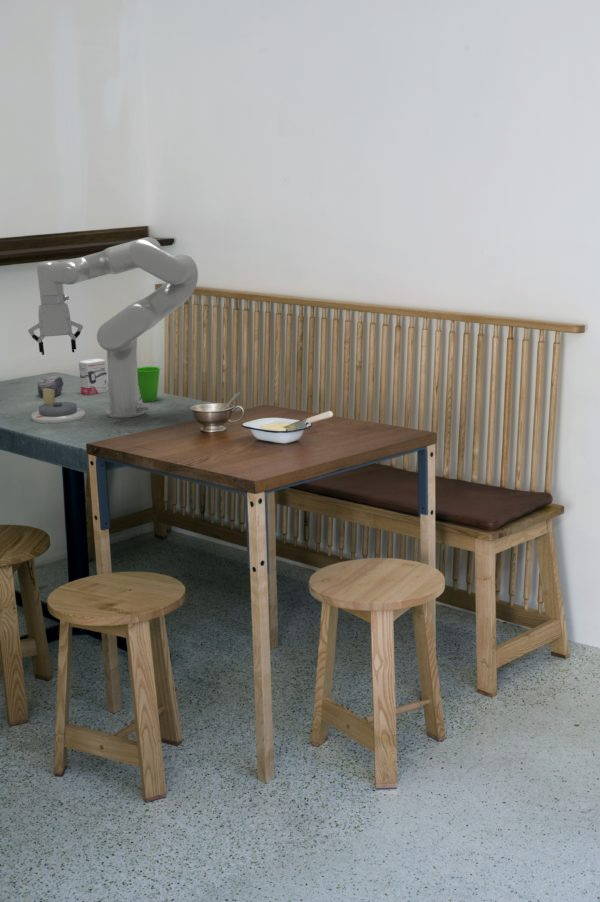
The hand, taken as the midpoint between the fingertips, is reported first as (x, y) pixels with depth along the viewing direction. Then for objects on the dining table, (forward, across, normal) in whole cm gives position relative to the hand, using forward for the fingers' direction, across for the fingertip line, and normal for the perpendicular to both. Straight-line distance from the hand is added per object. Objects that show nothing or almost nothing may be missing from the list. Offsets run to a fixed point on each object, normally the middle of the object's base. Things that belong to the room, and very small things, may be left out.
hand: (58, 353), depth 357 cm
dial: (+18, +2, +5) cm, 19 cm away
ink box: (+20, -11, -32) cm, 40 cm away
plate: (+20, +2, +5) cm, 21 cm away
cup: (+21, -29, -12) cm, 38 cm away
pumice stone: (+20, +4, -33) cm, 39 cm away
